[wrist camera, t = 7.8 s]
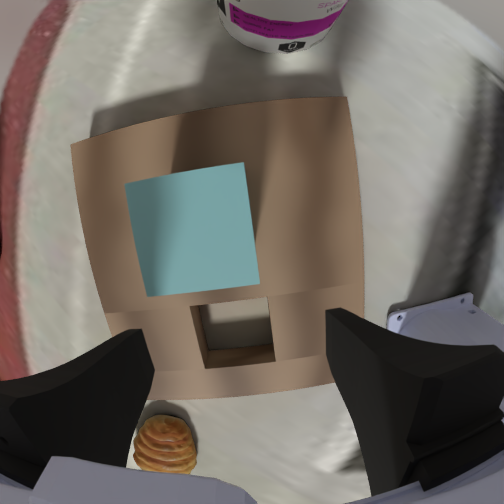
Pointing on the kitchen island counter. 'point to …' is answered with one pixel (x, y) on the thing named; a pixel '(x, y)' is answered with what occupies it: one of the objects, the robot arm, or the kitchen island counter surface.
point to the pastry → (165, 446)
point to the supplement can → (279, 22)
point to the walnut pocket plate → (265, 234)
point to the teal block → (193, 230)
